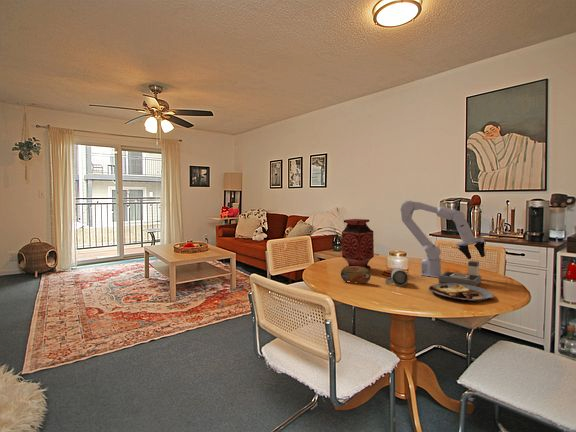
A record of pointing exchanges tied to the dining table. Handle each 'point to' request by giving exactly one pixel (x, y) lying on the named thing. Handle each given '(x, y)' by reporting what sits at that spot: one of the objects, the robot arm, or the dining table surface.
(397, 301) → the dining table surface
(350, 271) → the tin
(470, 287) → the food plate
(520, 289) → the dining table surface
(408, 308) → the dining table surface
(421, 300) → the dining table surface
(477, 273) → the block
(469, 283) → the caddy
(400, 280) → the ceramic mug
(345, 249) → the vase
